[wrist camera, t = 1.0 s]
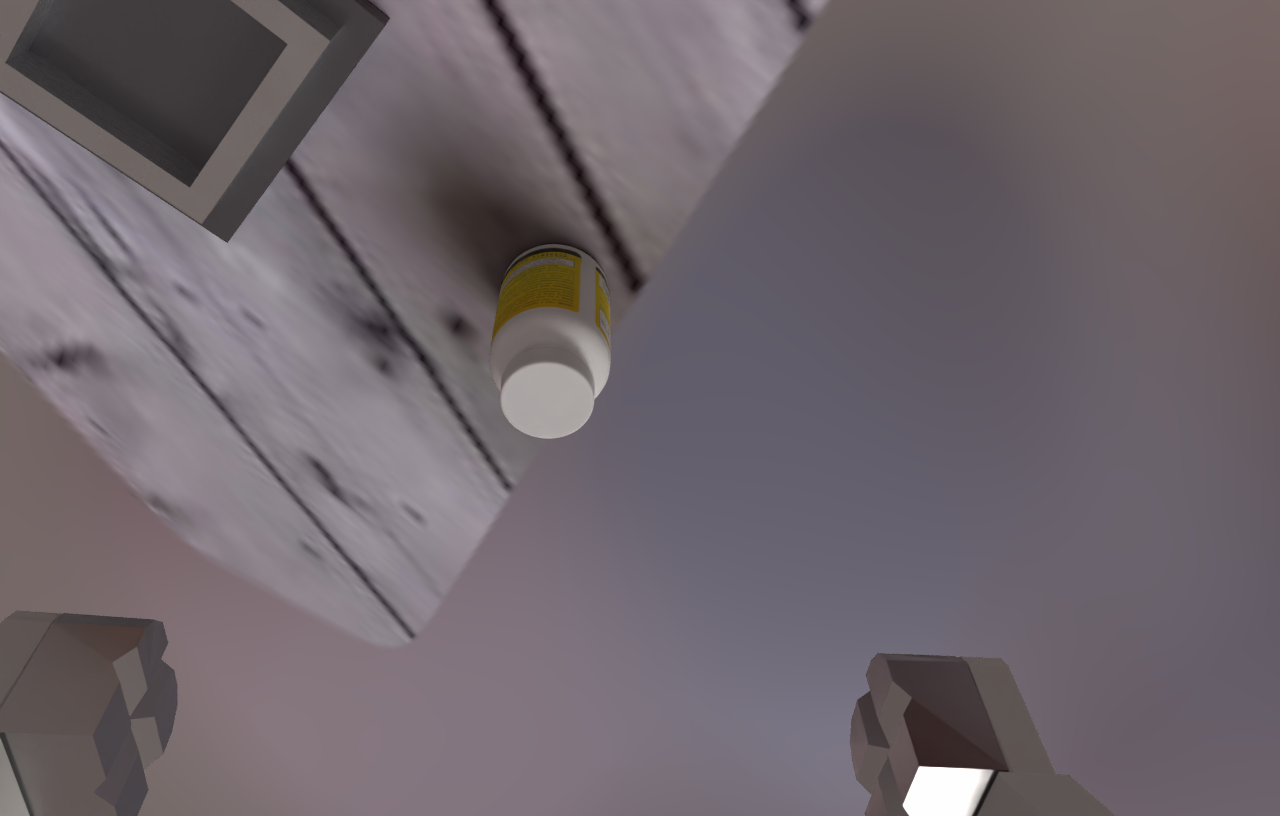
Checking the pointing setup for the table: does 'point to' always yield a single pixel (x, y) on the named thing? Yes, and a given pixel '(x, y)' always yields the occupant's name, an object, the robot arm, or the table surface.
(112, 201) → the table surface
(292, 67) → the collar socket
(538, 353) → the supplement bottle
